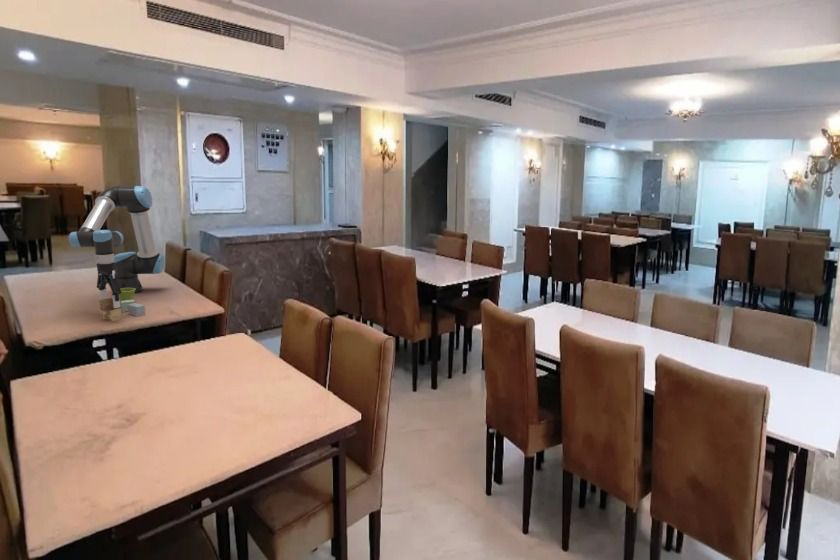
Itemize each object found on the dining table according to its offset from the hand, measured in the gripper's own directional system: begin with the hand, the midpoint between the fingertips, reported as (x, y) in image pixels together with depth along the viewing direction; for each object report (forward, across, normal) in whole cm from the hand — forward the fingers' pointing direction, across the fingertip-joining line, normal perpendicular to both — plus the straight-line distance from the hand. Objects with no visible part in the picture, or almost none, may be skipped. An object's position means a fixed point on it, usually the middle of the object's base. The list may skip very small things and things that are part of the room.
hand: (110, 305), depth 248 cm
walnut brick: (+2, +1, 0) cm, 2 cm away
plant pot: (+7, -19, +16) cm, 26 cm away
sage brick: (+7, -9, +11) cm, 16 cm away
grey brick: (+7, +2, +11) cm, 13 cm away
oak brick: (+7, +1, 0) cm, 7 cm away
